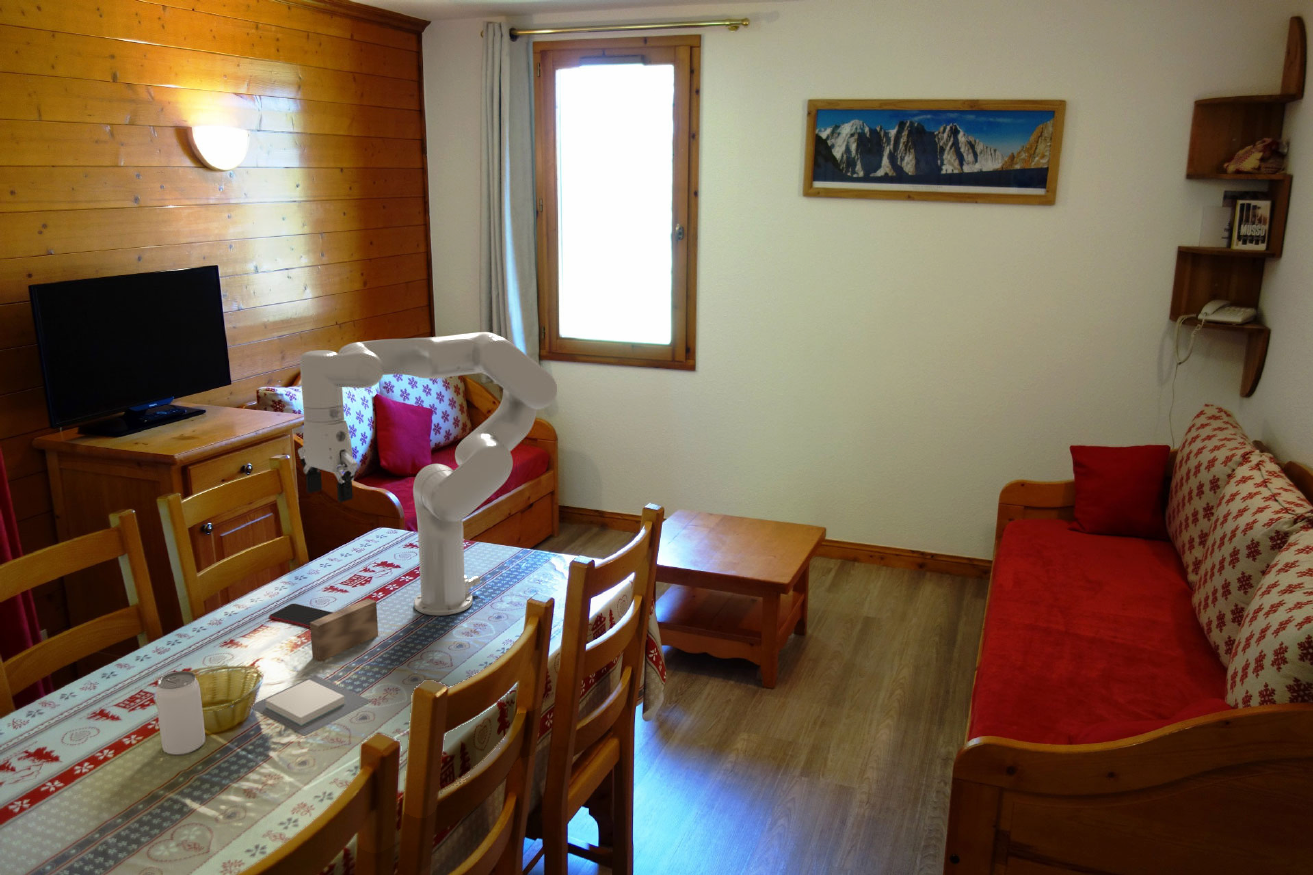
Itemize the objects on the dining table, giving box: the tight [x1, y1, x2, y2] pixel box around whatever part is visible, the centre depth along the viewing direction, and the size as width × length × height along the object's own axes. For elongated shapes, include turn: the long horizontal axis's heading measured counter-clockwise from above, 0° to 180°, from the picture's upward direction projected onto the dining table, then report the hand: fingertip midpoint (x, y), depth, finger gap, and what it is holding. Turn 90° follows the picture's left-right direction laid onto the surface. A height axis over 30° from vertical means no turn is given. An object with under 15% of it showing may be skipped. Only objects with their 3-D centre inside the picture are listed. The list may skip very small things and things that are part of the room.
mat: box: [251, 674, 373, 737], centre depth 175 cm, size 14×16×1 cm
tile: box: [265, 680, 345, 726], centre depth 174 cm, size 2×10×9 cm
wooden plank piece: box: [309, 598, 379, 663], centre depth 196 cm, size 14×2×8 cm, turn 146°
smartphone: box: [268, 603, 335, 629], centre depth 210 cm, size 7×1×15 cm
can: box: [155, 670, 206, 756], centre depth 161 cm, size 6×6×12 cm
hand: (329, 495), depth 200 cm, fingers open, 9 cm apart
